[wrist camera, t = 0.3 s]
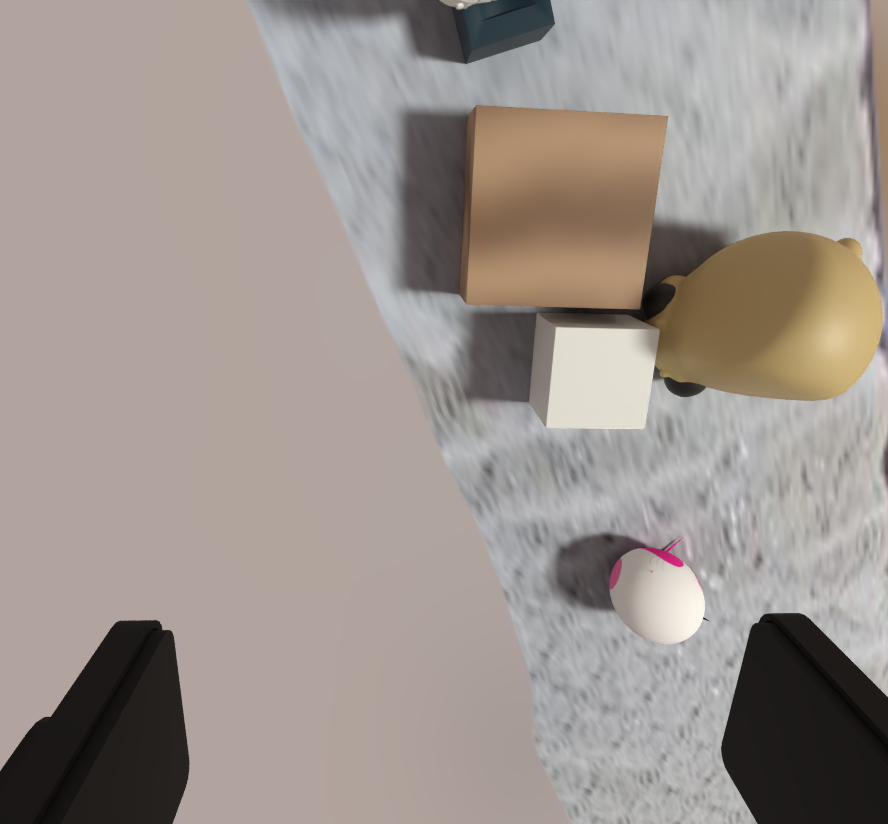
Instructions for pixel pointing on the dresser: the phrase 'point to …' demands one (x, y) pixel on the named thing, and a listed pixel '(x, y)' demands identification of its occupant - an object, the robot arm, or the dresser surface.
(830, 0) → the dresser surface
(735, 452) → the dresser surface
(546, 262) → the walnut block
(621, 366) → the off-white block
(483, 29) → the watch
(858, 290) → the beige rounded piece
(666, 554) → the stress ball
